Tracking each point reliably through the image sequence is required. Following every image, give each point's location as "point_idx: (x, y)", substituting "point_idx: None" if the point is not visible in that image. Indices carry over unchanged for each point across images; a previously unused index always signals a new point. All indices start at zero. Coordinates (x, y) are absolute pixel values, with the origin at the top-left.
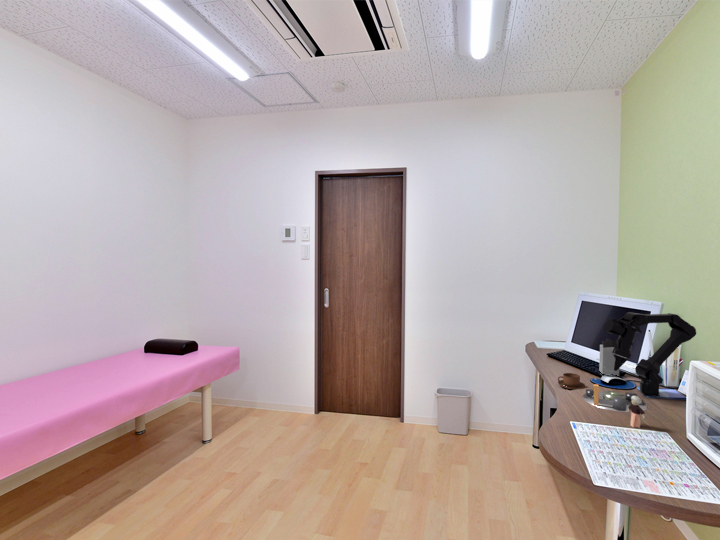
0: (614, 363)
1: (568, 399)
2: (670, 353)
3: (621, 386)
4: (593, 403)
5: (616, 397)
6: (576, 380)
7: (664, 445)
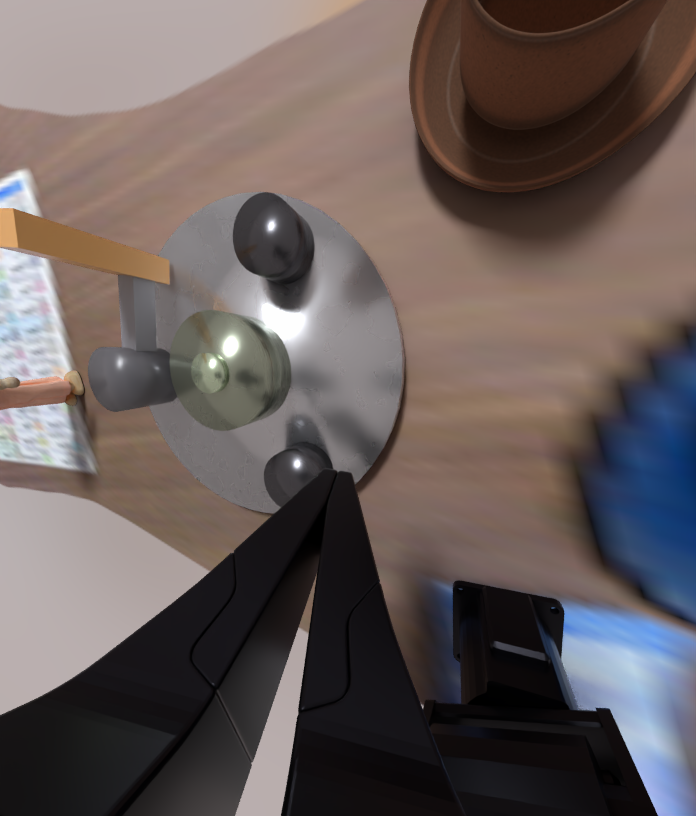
0: (343, 558)
1: (230, 113)
2: None
3: (684, 522)
4: (176, 259)
5: (117, 367)
6: (471, 46)
7: (29, 432)
